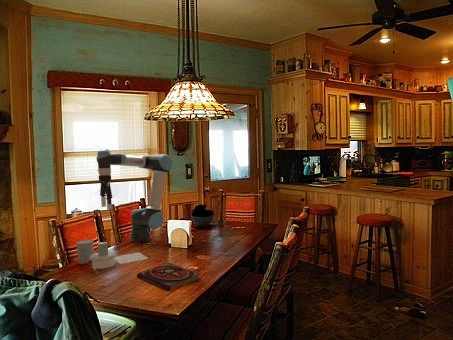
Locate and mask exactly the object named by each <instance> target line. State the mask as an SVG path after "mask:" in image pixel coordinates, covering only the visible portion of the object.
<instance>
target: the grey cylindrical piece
mask: <svg viewBox="0 0 453 340" xmlns="http://www.w3.org/2000/svg"><path fill="white" fill-rule="evenodd" d="M94 246H95V245H94V240H93V239H83V240H78V241H77V242H76V248H77V249H76V251H77V253H76V254H77V264H81V265H83V264H85V263H87V264H90V262H92V260H90V258H89V256H90V255H92V254H94V253H95V248H94Z"/></svg>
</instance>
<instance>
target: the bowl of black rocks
mask: <svg viewBox="0 0 453 340" xmlns="http://www.w3.org/2000/svg"><path fill="white" fill-rule="evenodd" d="M207 207H208V205H207V204H197V205H196V206H195V207H194V209H193V210H192V212H191V216H190V218H191V221H192V222H193V224H194V225H195V226H197V227H201V228H206V227H208V226H210V225H212V223H213V222H214V220H215V216H216V215H215V212H214V210H213V209H206V208H207Z"/></svg>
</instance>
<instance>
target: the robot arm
mask: <svg viewBox="0 0 453 340" xmlns="http://www.w3.org/2000/svg"><path fill="white" fill-rule="evenodd" d="M96 162H97V167H98V168H97V172H98V182H100V190H99V195H100V200H101V202H100V203H101V207H102V208H104V207H106V209H107V210H112V209H113V205H112V204H113V203H112V199H113V194H112V188H111V187H112V186H111V183H110V181H112V175H111V174H112V168H111V167H112V166H123V167H138V168H139V169H146V170H150V171H151V173H152V181H151V187H150V194H149V200H148V204H147V205H148V206H146V207H145V208H144V207H143V208H138V209H133V210H131V212H130V219H131V231H130V232H131V233H130V236H129V242H131V243H142V242H147V241H148V242H149V241H150V240H152V239H151V238H152V237H151V236H152V235H151V233H150V230H149V229H158V228H160V227H161V226H162V225H163V223H164V220H165V216H164V214H163V213H162V211H163V210H162V208H161V205H162V199H163V192H164V185H165V181H166V180H165V179H166V176H167V175H168V173H169V170H171V169H172V168H173V160H172V158H171V157H170V155H168V154H166V153H165V154H164V153H162V154H161V153H159V154H148V155H147V154H146V155H144V154H142V155H139V156H137V155H129V154H128V155H126V154H125V153H123V152H112V153H111V152H110V150H108V149H107V150H98V151H97V156H96Z"/></svg>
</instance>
